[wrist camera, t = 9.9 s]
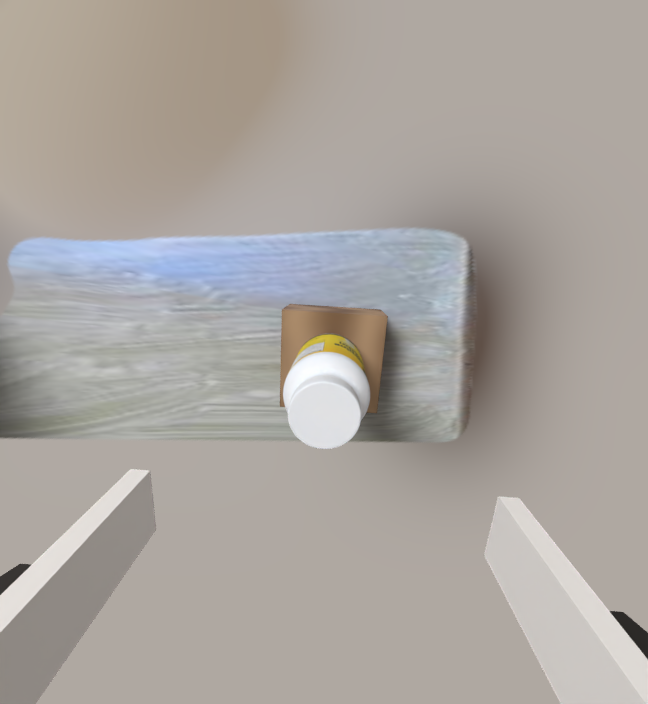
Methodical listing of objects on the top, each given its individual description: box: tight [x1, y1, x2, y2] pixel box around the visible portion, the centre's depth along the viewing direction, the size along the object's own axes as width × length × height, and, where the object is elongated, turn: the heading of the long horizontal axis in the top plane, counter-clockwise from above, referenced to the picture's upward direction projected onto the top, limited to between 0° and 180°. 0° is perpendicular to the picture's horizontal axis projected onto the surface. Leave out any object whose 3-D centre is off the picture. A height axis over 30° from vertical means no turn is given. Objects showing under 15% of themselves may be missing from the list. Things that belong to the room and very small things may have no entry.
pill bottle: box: [283, 333, 370, 449], centre depth 25 cm, size 6×6×12 cm
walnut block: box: [280, 304, 388, 413], centre depth 33 cm, size 10×10×5 cm
